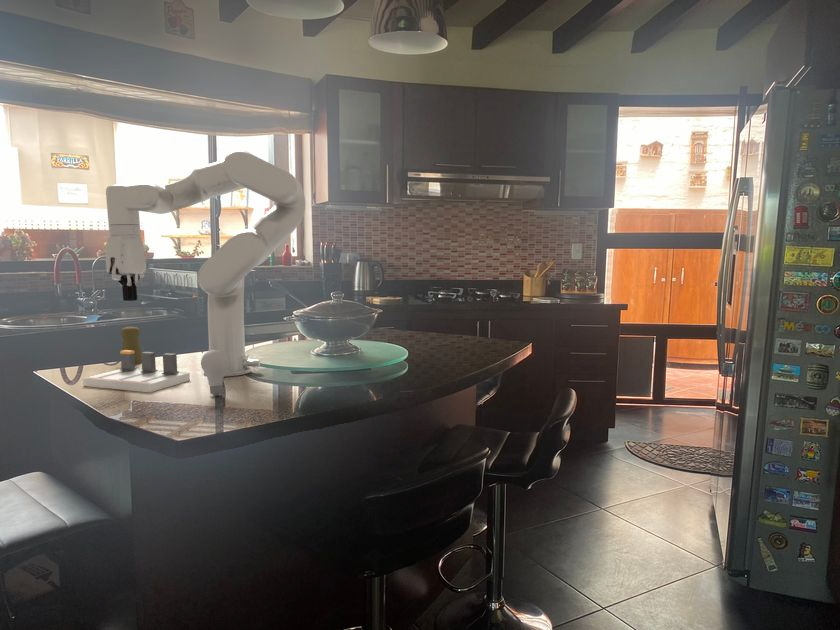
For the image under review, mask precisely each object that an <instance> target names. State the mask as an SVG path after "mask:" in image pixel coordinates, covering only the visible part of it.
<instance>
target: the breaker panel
mask: <svg viewBox="0 0 840 630" xmlns="http://www.w3.org/2000/svg"><path fill="white" fill-rule="evenodd" d="M136 368H137V367H136ZM120 369H121V368H119V369H115V370H111V371H107V372H103V373H98V374H94V375H91V376H87V377H82V385H83V387H89V386H90V387H92V388H101V389H110V388H111V389H110V390H122V391H132V392H142V393H152V392H157V391H159V390H162V389H166V388H169V387H172V386H176V385H178V384H183V383H186V382H188V381H190V380H191V379H190V378H191V377H190V376H191V375H190V372H184V371H179V373H175V374H172V375H165V374H162V373H164V371H163V370H161V369H160V370H159V369H156V370H157V371H155V372H151V373H141V372H140V371H142V368H139V367H138V368H137V369H135V370H131V371H120Z"/></svg>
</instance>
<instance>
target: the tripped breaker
mask: <svg viewBox="0 0 840 630" xmlns="http://www.w3.org/2000/svg"><path fill="white" fill-rule="evenodd" d="M119 353H120V365H121V368H119V369H120V371H131V370H135V369H137V367H136V364H135V359H134V351H132V350H123V351H122V350H120V352H119Z"/></svg>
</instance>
